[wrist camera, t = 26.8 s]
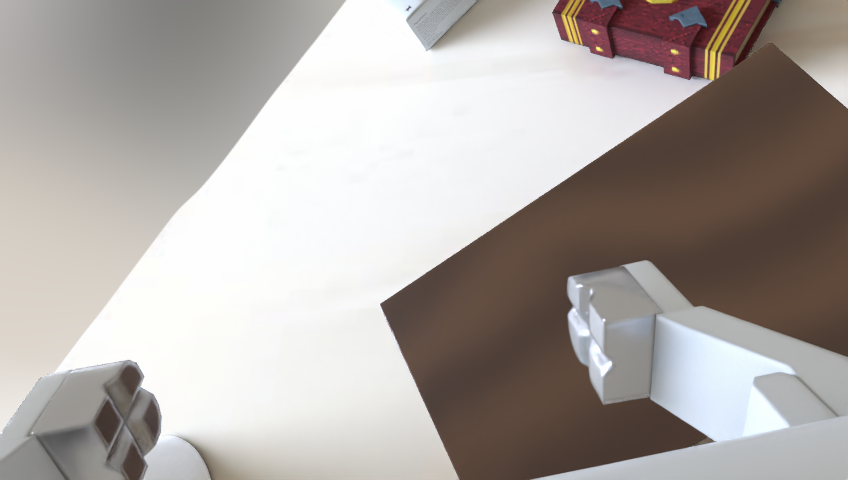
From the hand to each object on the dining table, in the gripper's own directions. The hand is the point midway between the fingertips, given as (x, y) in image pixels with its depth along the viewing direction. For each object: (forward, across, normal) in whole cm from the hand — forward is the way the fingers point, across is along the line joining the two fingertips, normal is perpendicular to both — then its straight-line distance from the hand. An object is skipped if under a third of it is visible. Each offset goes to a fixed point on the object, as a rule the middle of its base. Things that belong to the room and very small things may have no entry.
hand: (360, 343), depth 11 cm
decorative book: (+40, -26, +2) cm, 48 cm away
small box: (+54, -9, +1) cm, 55 cm away
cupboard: (+21, -18, +22) cm, 35 cm away
